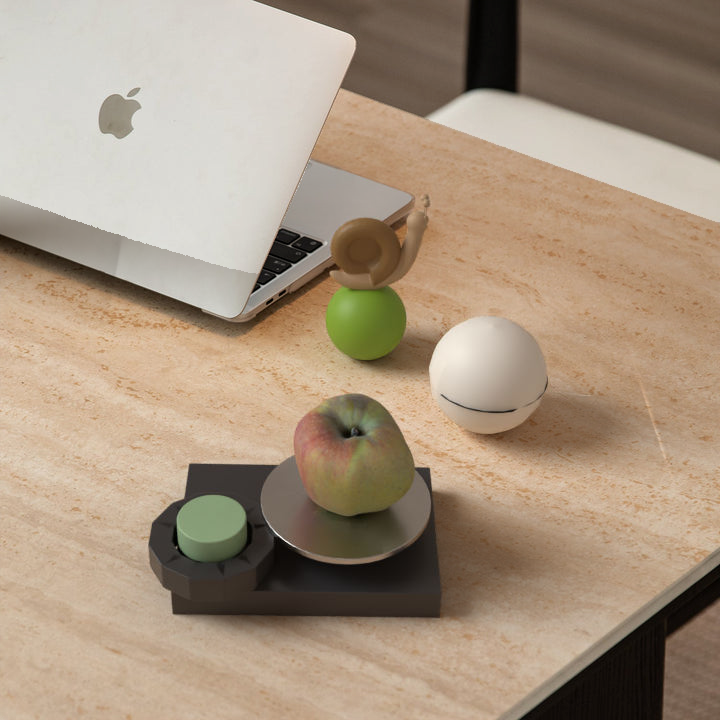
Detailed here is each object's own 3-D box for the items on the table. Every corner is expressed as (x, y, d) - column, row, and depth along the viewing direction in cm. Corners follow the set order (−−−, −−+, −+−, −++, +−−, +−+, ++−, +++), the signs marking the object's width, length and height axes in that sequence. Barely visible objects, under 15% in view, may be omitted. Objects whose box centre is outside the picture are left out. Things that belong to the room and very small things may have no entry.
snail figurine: (422, 375, 83) (435, 218, 76) (326, 376, 82) (330, 218, 75) (414, 329, 87) (425, 176, 80) (323, 330, 87) (326, 176, 80)
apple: (322, 434, 71) (324, 351, 68) (435, 495, 67) (444, 410, 64) (251, 488, 67) (249, 402, 64) (367, 556, 64) (372, 468, 60)
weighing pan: (256, 563, 63) (256, 558, 63) (264, 447, 71) (264, 442, 71) (436, 566, 64) (436, 560, 63) (425, 450, 71) (425, 444, 71)
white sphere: (403, 433, 78) (410, 336, 74) (456, 373, 83) (465, 280, 79) (550, 490, 74) (567, 392, 70) (596, 424, 79) (614, 329, 75)
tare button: (174, 563, 64) (173, 541, 63) (181, 515, 67) (180, 493, 66) (245, 564, 64) (244, 542, 63) (248, 516, 67) (248, 494, 66)
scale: (146, 626, 64) (142, 578, 62) (169, 486, 73) (165, 441, 71) (440, 629, 65) (445, 582, 63) (427, 491, 74) (431, 445, 71)
